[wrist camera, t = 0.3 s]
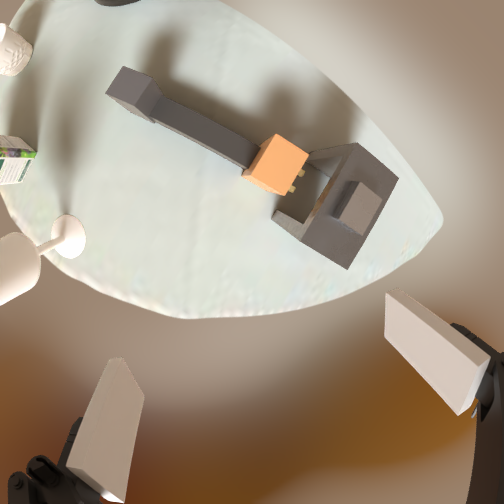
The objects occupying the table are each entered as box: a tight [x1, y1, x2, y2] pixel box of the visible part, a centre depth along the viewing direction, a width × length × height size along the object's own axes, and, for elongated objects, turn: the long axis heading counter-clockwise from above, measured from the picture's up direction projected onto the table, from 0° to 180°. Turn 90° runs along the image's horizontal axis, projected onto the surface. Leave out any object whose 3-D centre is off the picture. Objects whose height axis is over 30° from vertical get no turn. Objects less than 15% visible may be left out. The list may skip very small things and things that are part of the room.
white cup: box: [0, 23, 33, 76], centre depth 20 cm, size 8×8×10 cm
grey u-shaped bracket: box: [271, 143, 399, 270], centre depth 31 cm, size 6×11×15 cm, turn 149°
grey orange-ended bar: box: [105, 66, 309, 196], centre depth 29 cm, size 24×5×10 cm, turn 59°
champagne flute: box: [0, 215, 86, 305], centre depth 23 cm, size 7×7×24 cm
